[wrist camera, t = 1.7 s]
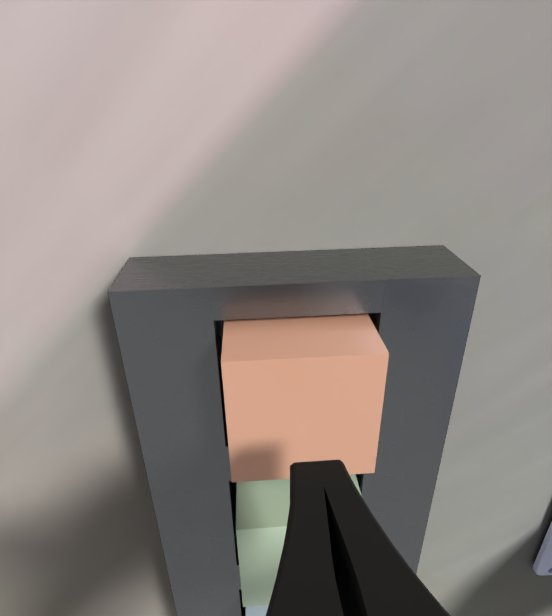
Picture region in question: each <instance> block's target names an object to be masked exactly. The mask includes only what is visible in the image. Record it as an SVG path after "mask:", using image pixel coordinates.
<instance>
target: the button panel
mask: <svg viewBox="0 0 552 616" xmlns="http://www.w3.org/2000/svg"><path fill="white" fill-rule="evenodd" d="M480 277H481V275H479V274H478V273H477V272H476V271H474V270H473V269H472V268H471V267H469V266H468V265H467V264H466V263H464V262H463V261H462V260H461V259H459V258H458V257H457V256H456V255H455V254H453V253H452V252H451V251H450V250H448V249H447V248H446V247H445V246H443V245H441V246H415V247H390V248H365V249H339V250H314V251H288V252H263V253H238V254H212V255H187V256H161V257H136V258H129V260H128V261H127V263H126V264H125V266H124V267H123V269H122V270H121V272H120V274H119V275H118V277H117V278H116V280H115V281H114V283H113V284H112V286H111V288H110V289H109V291H108V295H109V300H110V305H111V309H112V314H113V319H114V323H115V328H116V333H117V337H118V342H119V347H120V351H121V356H122V361H123V365H124V370H125V375H126V379H127V384H128V389H129V393H130V398H131V403H132V407H133V412H134V417H135V421H136V426H137V431H138V435H139V440H140V445H141V449H142V454H143V459H144V463H145V468H146V473H147V477H148V482H149V487H150V491H151V496H152V501H153V505H154V510H155V515H156V519H157V524H158V529H159V533H160V538H161V543H162V547H163V552H164V557H165V561H166V566H167V571H168V575H169V580H170V585H171V589H172V594H173V599H174V603H175V608H176V613H177V616H246V607H243V603H242V592H241V580H240V569H239V558H238V547H237V536H236V491H237V482H232V480H231V469H230V458H229V447H228V435H227V424H226V413H225V402H224V391H223V380H222V369H221V355H222V341H223V328H224V320H236V319H257V318H278V317H299V316H320V315H341V314H362V313H368V315H369V317H370V319H371V321H372V323H373V324H374V326H375V328H376V330H377V332H378V334H379V335H380V337H381V339H382V341H383V343H384V345H385V346H386V348H387V350H388V352H389V359H388V367H387V375H386V383H385V392H384V400H383V408H382V416H381V424H380V432H379V440H378V449H377V457H376V465H375V473H365V474H356V478H357V481H358V485H359V488H360V492H361V495H362V498H363V500H364V501H365V503H366V505H367V506H368V508H369V509H370V511H371V512H372V514H373V516H374V517H375V519H376V520H377V522H378V523H379V525H380V526H381V527H382V529H383V530H384V532H385V533H386V535H387V536H388V538H389V539H390V541H391V542H392V543H393V545H394V546H395V548H396V549H397V550H398V552H399V553H400V555H401V556H402V557H403V559H404V560H405V561H406V563H407V564H408V565H409V567H410V568H411V569H412V570H413V572H414V573H415V574H416V572H417V568H418V563H419V558H420V554H421V549H422V545H423V540H424V535H425V531H426V526H427V521H428V517H429V512H430V508H431V503H432V498H433V494H434V489H435V485H436V480H437V475H438V471H439V466H440V462H441V457H442V452H443V448H444V443H445V438H446V434H447V429H448V425H449V420H450V415H451V411H452V406H453V402H454V397H455V392H456V388H457V383H458V378H459V374H460V369H461V365H462V360H463V355H464V351H465V346H466V342H467V337H468V332H469V328H470V323H471V318H472V314H473V309H474V305H475V300H476V295H477V291H478V286H479V282H480Z"/></svg>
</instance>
